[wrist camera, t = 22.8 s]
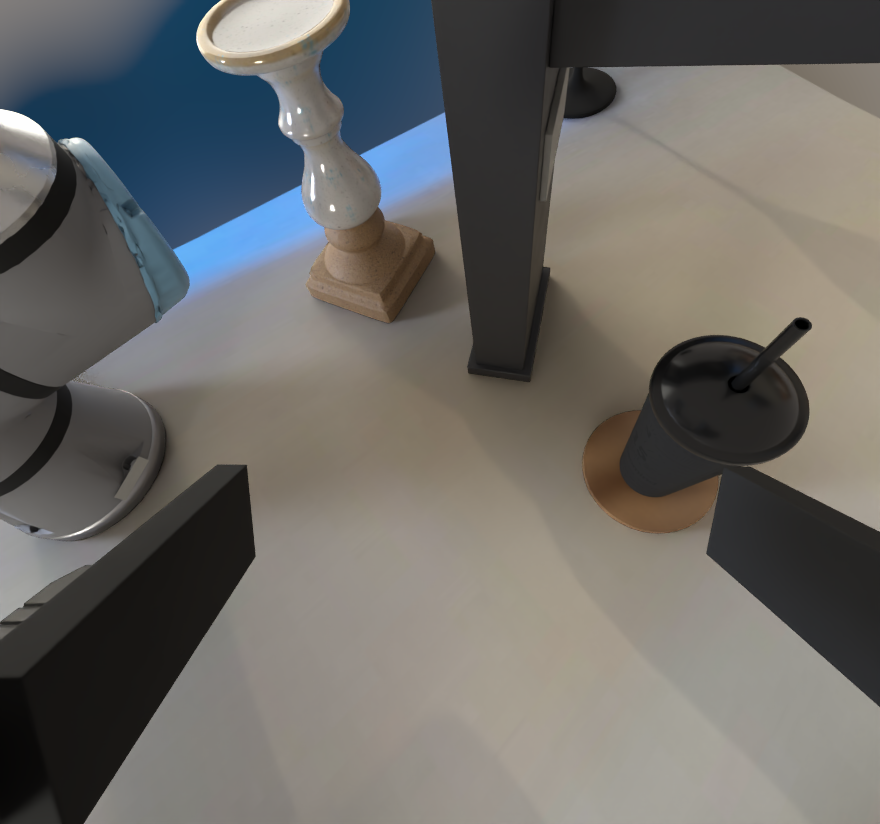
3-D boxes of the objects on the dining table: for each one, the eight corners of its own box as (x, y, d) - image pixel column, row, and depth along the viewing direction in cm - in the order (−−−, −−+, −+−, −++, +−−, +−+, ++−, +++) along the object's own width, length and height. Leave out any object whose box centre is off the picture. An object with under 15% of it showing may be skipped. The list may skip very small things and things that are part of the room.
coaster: (556, 460, 37) (557, 458, 37) (644, 391, 39) (646, 388, 38) (650, 561, 33) (652, 560, 32) (744, 479, 34) (748, 477, 34)
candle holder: (437, 250, 49) (384, -29, 27) (391, 325, 46) (288, 73, 24) (358, 228, 52) (254, -38, 31) (309, 296, 49) (154, 51, 27)
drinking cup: (661, 410, 37) (810, 226, 19) (722, 489, 34) (972, 356, 16) (583, 448, 37) (659, 297, 19) (637, 531, 33) (792, 445, 15)
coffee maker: (468, 373, 42) (407, 4, 16) (493, 270, 47) (478, -142, 21) (687, 405, 37) (1087, -30, 12) (691, 288, 42) (980, -205, 17)
